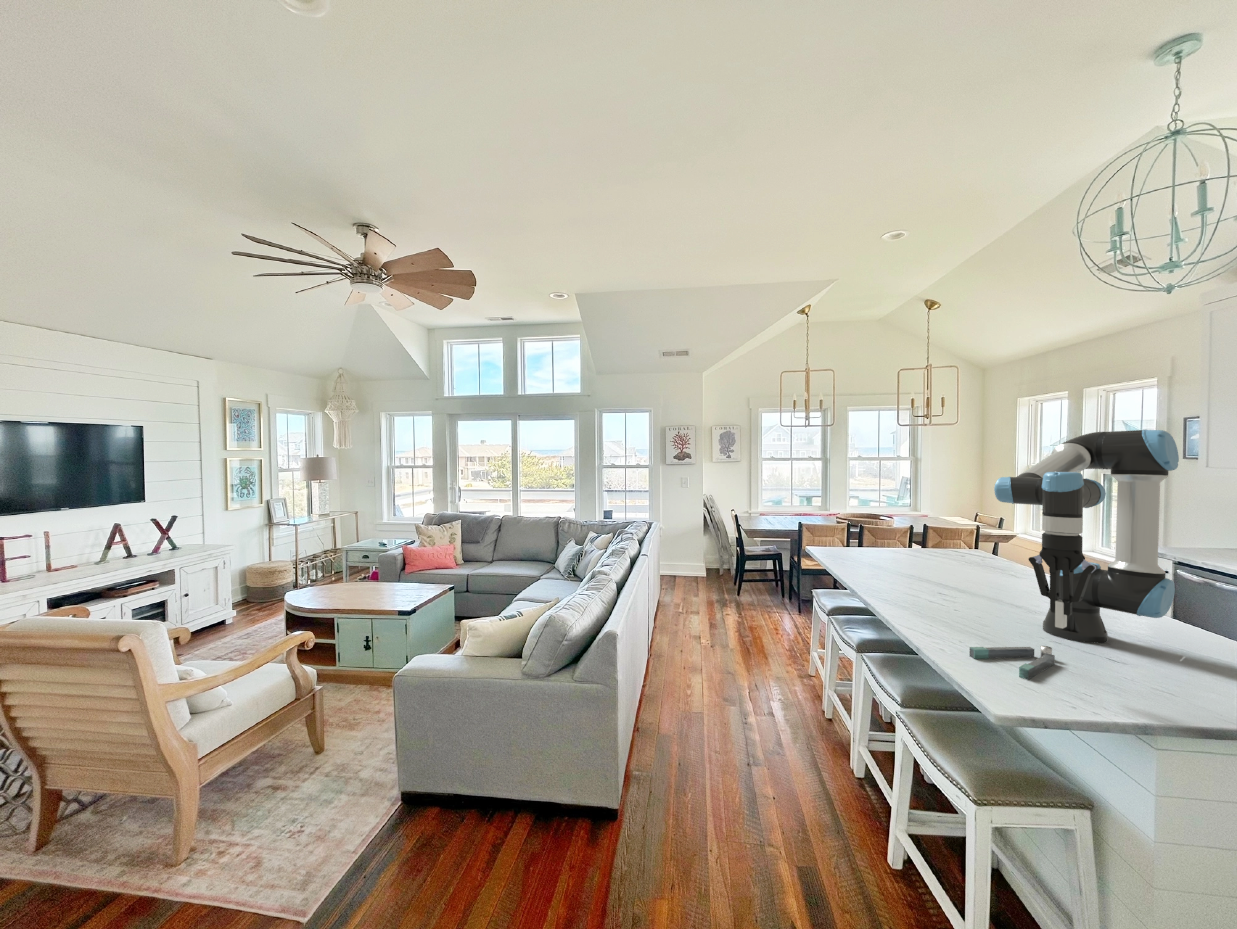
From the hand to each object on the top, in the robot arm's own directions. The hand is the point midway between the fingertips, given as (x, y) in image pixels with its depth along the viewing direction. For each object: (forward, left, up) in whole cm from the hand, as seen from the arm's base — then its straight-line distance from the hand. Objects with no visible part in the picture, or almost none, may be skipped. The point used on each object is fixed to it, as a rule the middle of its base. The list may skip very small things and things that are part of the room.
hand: (1060, 626), depth 122 cm
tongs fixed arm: (+1, -15, -14) cm, 21 cm away
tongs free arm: (0, -7, -14) cm, 16 cm away
